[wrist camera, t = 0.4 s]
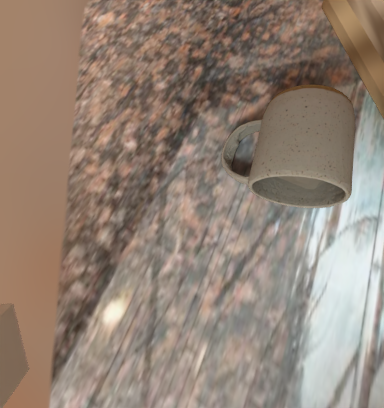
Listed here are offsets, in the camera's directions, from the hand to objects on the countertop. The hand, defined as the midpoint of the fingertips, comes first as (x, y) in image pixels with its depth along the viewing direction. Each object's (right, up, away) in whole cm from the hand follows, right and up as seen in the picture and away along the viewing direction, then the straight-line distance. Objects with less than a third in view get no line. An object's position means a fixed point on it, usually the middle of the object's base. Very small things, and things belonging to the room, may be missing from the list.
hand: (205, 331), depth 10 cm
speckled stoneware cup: (+8, +8, +18) cm, 21 cm away
